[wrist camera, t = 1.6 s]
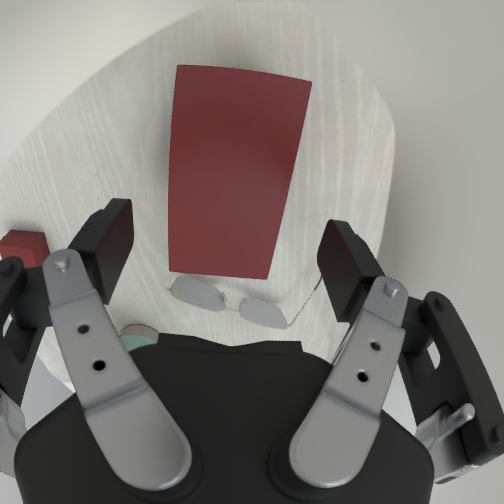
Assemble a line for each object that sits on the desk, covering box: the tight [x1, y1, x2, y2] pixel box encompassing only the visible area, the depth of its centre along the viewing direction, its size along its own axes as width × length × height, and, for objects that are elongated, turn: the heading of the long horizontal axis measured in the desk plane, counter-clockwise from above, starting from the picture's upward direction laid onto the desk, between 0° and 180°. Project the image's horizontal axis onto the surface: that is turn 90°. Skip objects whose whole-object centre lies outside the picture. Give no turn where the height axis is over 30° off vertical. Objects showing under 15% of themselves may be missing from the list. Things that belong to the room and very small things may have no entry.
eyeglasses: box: [165, 272, 322, 329], centre depth 28 cm, size 14×8×4 cm, turn 63°
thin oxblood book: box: [168, 65, 312, 280], centre depth 15 cm, size 12×6×2 cm, turn 171°
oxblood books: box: [0, 230, 50, 268], centre depth 27 cm, size 12×6×3 cm, turn 171°
